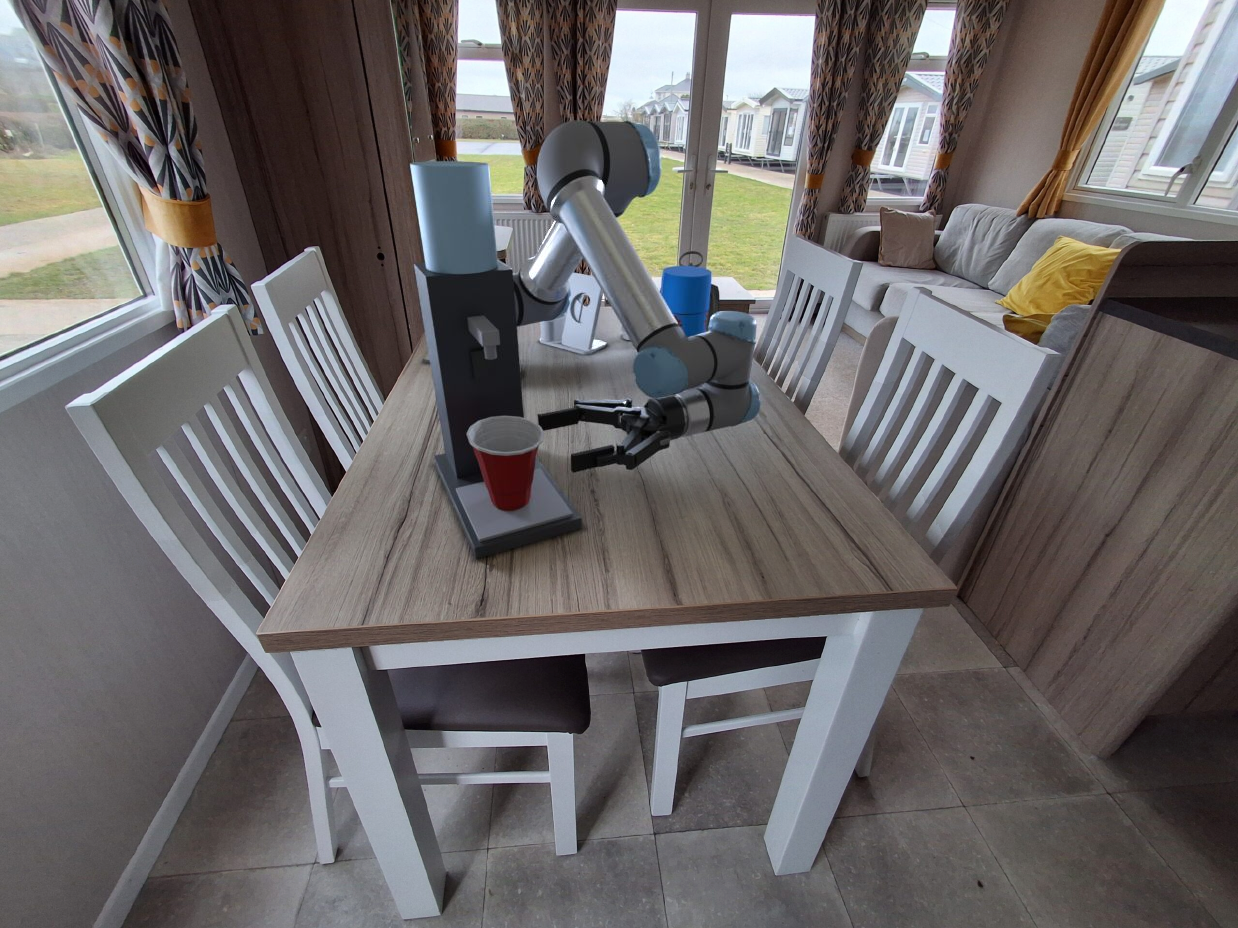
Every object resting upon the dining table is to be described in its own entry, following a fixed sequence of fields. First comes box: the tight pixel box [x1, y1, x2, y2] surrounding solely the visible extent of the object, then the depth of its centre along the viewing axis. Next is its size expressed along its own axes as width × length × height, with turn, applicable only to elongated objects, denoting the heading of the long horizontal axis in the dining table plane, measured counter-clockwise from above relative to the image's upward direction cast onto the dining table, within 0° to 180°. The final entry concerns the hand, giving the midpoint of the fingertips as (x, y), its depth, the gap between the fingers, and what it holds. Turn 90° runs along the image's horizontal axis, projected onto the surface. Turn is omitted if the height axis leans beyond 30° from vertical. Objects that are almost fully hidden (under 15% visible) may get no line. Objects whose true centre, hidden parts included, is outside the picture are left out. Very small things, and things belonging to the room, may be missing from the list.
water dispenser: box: [409, 160, 583, 560], centre depth 79 cm, size 28×16×47 cm, turn 27°
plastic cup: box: [467, 416, 545, 511], centre depth 82 cm, size 11×11×12 cm
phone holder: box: [539, 272, 607, 356], centre depth 149 cm, size 17×10×18 cm, turn 55°
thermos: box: [660, 265, 712, 337], centre depth 127 cm, size 11×11×25 cm
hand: (554, 442), depth 84 cm, fingers open, 13 cm apart
